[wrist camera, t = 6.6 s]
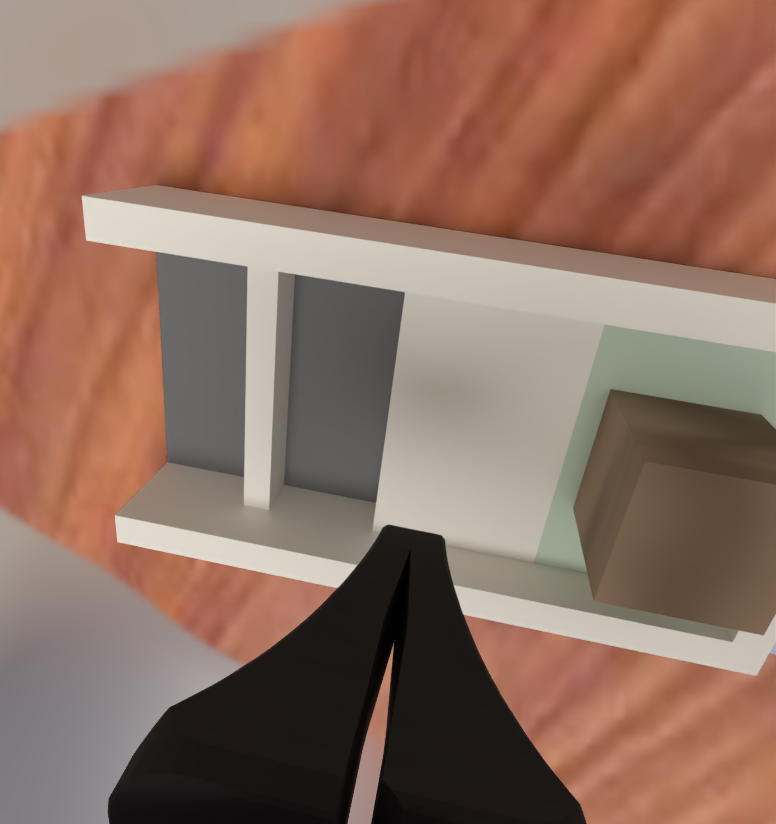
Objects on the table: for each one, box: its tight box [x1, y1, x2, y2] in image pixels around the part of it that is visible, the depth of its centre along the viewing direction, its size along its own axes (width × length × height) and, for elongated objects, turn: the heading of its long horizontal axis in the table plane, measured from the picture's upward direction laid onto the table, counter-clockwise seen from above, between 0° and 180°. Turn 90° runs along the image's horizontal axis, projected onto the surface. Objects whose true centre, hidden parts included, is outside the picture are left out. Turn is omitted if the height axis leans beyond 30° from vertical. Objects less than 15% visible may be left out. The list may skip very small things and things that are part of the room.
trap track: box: [82, 185, 776, 676], centre depth 20 cm, size 22×12×4 cm, turn 83°
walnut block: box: [573, 389, 776, 636], centre depth 17 cm, size 4×4×4 cm
